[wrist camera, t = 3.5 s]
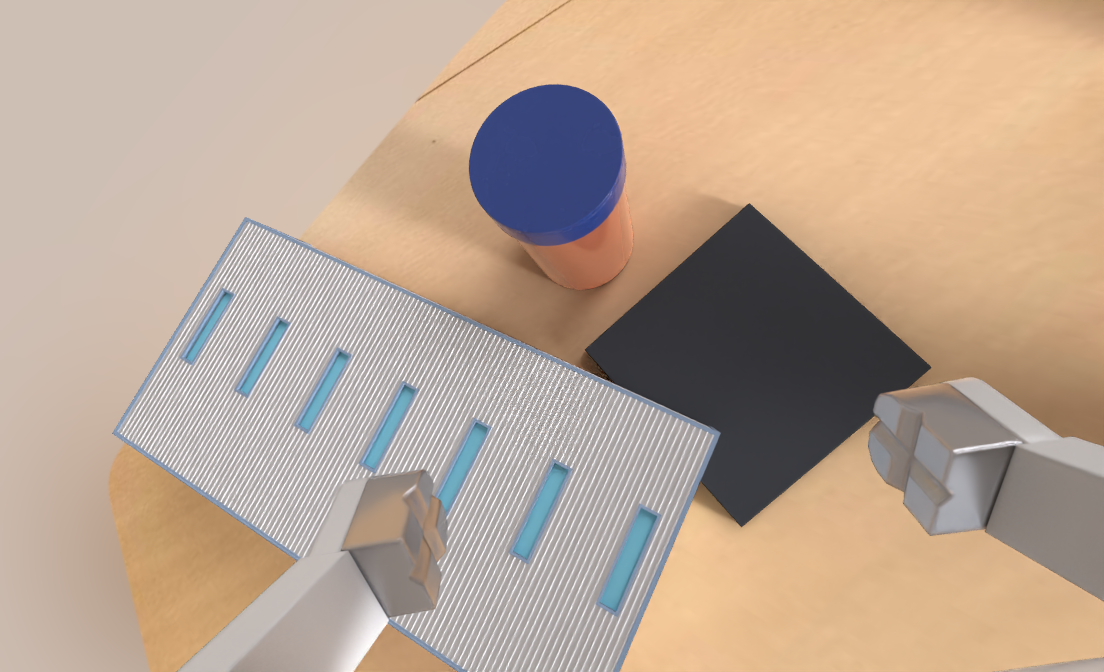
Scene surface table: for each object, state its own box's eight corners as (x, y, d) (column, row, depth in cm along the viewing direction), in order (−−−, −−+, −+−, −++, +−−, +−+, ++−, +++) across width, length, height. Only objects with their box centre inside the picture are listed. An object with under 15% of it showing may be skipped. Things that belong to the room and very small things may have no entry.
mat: (747, 208, 30) (749, 202, 30) (924, 368, 27) (932, 367, 26) (586, 351, 31) (584, 349, 30) (739, 524, 28) (741, 527, 27)
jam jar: (587, 175, 33) (553, 67, 23) (654, 241, 31) (649, 157, 21) (515, 241, 33) (450, 164, 23) (578, 310, 32) (537, 260, 22)
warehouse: (713, 427, 28) (724, 435, 21) (608, 665, 28) (582, 758, 21) (310, 244, 36) (217, 205, 29) (226, 427, 36) (111, 433, 29)
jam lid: (561, 79, 24) (553, 53, 22) (659, 171, 22) (659, 151, 21) (455, 178, 25) (439, 160, 23) (544, 276, 23) (534, 265, 21)
